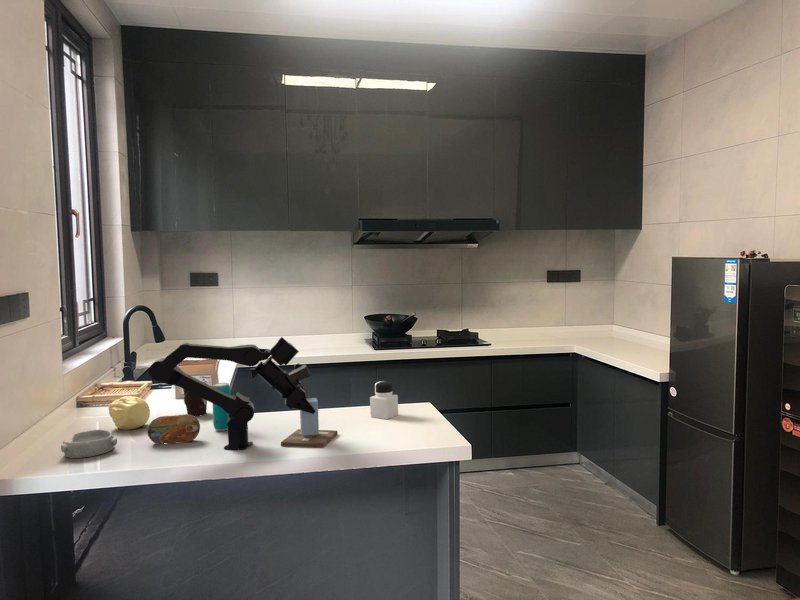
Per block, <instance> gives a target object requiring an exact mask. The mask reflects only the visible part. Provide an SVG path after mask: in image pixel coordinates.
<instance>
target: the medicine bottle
mask: <svg viewBox="0 0 800 600" xmlns="http://www.w3.org/2000/svg"><path fill="white" fill-rule="evenodd" d="M374 394H375V395H373V396H370V397H369V404H370V406H369V407H370V409H369V410H370V417H371V418H375V419H382V420H390V419H392V418H394V417H397V416H398V415H399V397H398V396H399V395H398V394H393V383H392V382H391V381H387V380H382V381H378V382H377V381H376V383H375V384H374Z"/></svg>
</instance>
